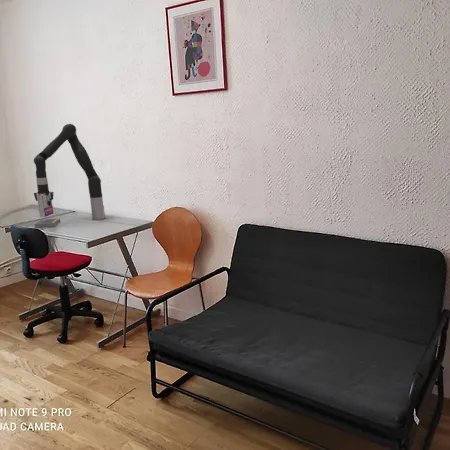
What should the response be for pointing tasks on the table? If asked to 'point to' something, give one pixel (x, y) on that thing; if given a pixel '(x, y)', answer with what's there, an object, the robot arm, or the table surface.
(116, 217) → the table surface
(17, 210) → the table surface
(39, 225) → the loading dock
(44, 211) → the candy bar box
